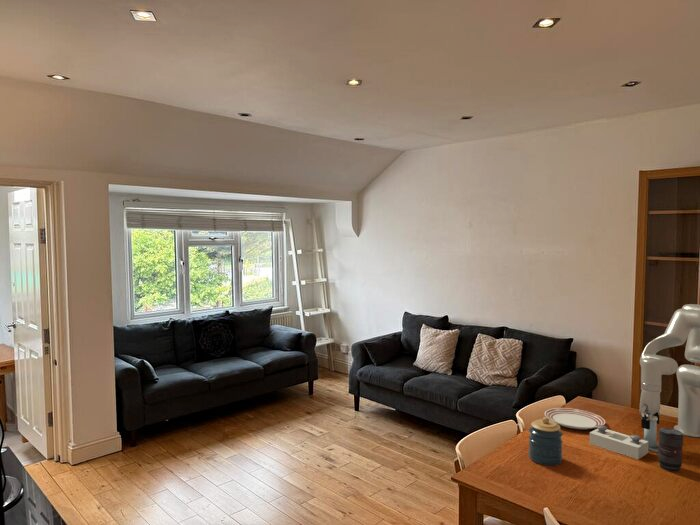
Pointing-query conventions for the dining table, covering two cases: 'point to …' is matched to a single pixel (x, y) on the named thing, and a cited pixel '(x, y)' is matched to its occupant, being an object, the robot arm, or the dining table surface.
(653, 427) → the cartridge
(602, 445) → the housing
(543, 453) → the canister
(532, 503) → the dining table surface
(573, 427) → the dinner plate
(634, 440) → the plunger
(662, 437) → the camera lens
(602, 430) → the plunger
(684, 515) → the dining table surface
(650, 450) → the mat
